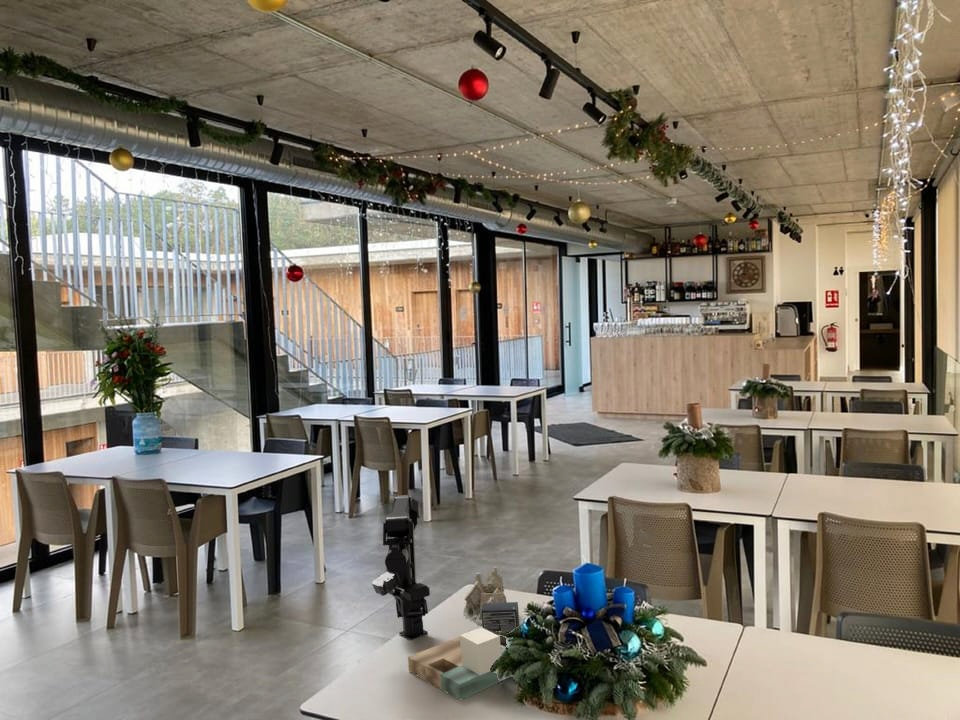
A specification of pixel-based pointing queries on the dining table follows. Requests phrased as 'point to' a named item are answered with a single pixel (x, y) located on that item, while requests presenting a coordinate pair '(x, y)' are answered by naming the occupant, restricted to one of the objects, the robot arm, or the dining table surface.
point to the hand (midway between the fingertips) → (404, 616)
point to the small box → (500, 617)
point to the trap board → (450, 670)
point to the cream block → (479, 650)
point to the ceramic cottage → (483, 595)
